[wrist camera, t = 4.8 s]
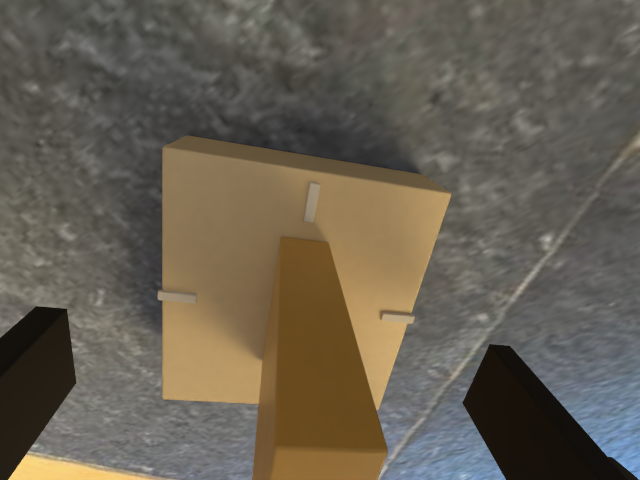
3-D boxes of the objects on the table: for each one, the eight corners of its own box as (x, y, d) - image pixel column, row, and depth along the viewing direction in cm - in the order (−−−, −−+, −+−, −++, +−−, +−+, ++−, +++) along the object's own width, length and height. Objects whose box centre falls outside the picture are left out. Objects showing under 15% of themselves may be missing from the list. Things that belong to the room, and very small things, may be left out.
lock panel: (183, 134, 13) (156, 146, 11) (424, 174, 15) (457, 194, 12) (178, 351, 18) (158, 403, 15) (367, 365, 19) (381, 413, 16)
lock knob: (280, 235, 12) (273, 465, 5) (329, 242, 13) (394, 467, 5) (262, 363, 15) (237, 653, 7) (303, 366, 15) (322, 647, 7)
